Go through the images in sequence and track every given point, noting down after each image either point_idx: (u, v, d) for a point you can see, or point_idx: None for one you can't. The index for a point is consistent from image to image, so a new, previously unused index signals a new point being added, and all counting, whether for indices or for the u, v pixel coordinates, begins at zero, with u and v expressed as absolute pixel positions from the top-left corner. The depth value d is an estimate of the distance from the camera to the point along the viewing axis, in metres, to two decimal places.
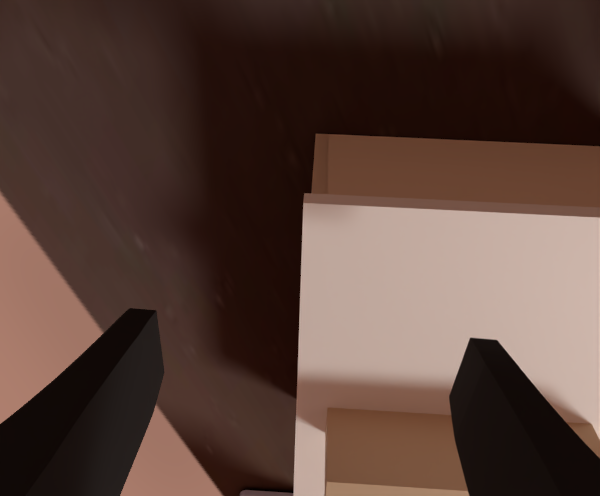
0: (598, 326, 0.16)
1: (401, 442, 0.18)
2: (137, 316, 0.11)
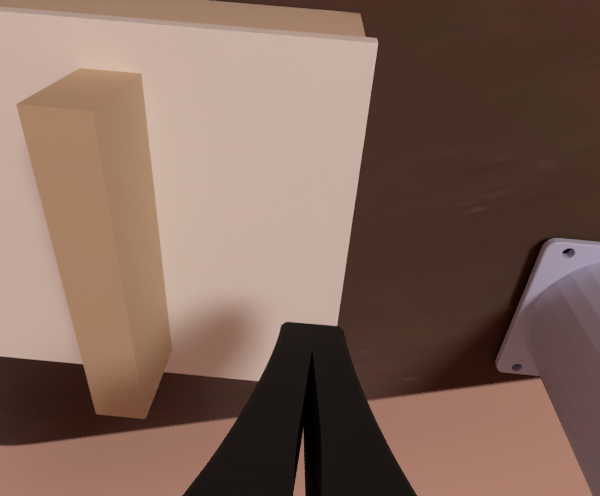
0: None
1: None
2: (299, 331, 0.11)
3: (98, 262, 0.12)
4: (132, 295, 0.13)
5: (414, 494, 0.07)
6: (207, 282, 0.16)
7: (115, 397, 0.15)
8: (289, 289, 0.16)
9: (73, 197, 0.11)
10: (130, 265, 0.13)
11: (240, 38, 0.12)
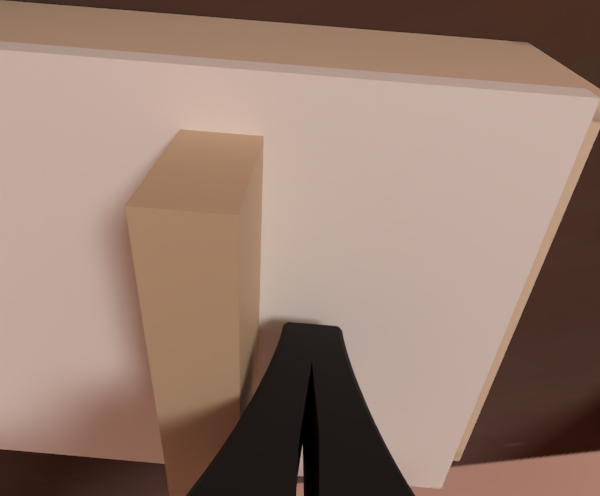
0: None
1: None
2: (301, 331, 0.11)
3: (212, 396, 0.09)
4: None
5: (412, 494, 0.07)
6: None
7: None
8: (415, 387, 0.13)
9: (190, 321, 0.08)
10: (244, 388, 0.10)
11: (409, 92, 0.09)
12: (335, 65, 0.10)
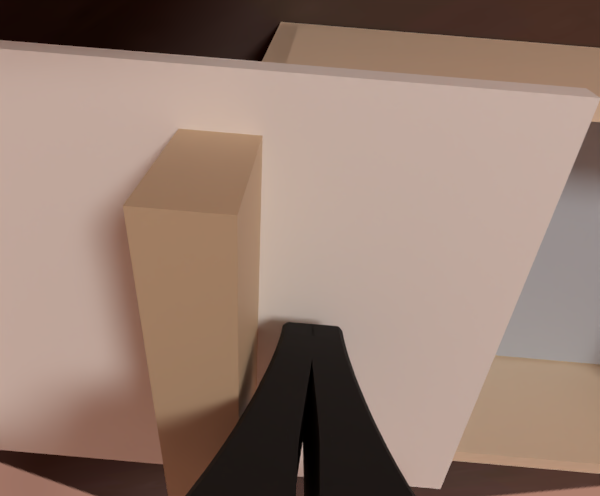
0: None
1: None
2: (301, 331, 0.11)
3: (211, 396, 0.09)
4: None
5: (412, 494, 0.07)
6: None
7: None
8: (414, 387, 0.13)
9: (188, 322, 0.08)
10: (244, 389, 0.10)
11: (408, 92, 0.09)
12: None
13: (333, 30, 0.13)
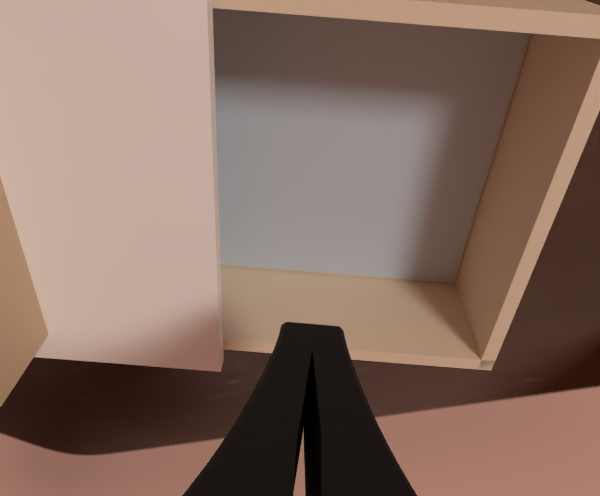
0: None
1: None
2: (300, 331, 0.11)
3: None
4: None
5: (414, 494, 0.07)
6: (71, 258, 0.15)
7: None
8: (160, 264, 0.15)
9: None
10: None
11: None
12: None
13: None
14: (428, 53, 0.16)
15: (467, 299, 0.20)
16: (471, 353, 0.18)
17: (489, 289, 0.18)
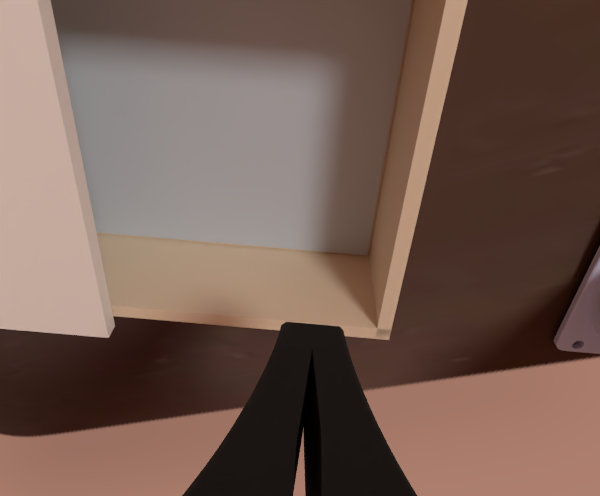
0: None
1: None
2: (299, 330, 0.11)
3: None
4: None
5: (414, 494, 0.07)
6: None
7: None
8: (27, 221, 0.15)
9: None
10: None
11: None
12: None
13: None
14: (313, 11, 0.16)
15: (374, 270, 0.19)
16: (368, 322, 0.18)
17: (384, 255, 0.17)
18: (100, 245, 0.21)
